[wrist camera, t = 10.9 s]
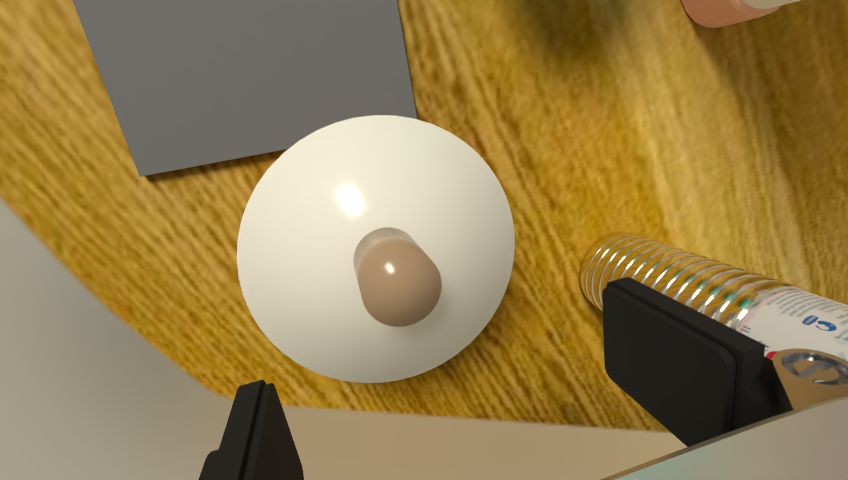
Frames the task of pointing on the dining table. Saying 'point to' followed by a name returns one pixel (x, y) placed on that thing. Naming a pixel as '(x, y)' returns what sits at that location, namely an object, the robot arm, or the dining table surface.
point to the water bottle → (720, 293)
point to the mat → (243, 72)
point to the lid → (375, 249)
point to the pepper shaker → (729, 10)
